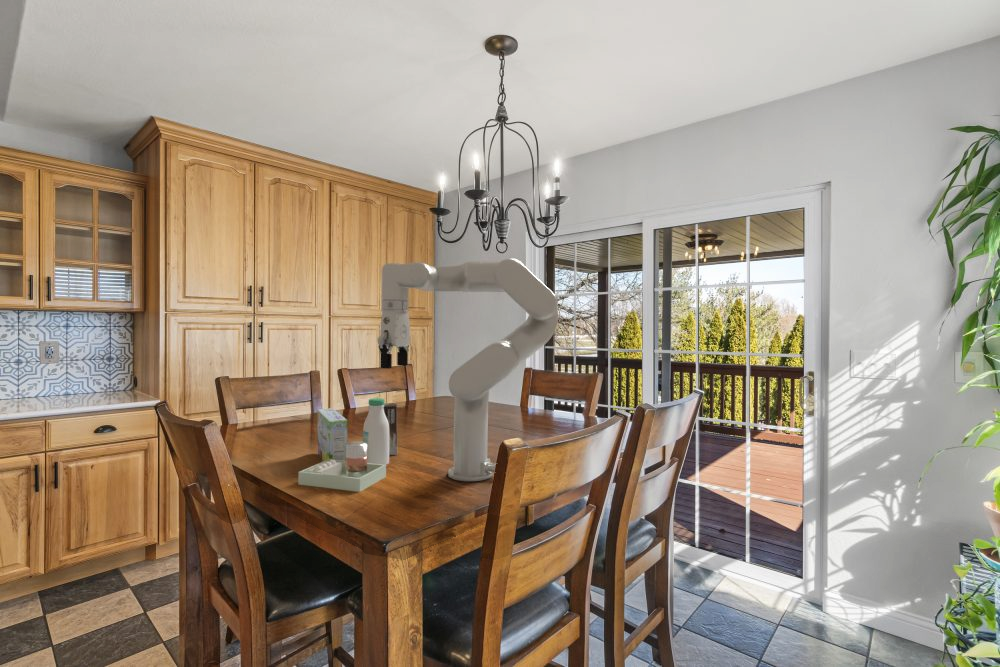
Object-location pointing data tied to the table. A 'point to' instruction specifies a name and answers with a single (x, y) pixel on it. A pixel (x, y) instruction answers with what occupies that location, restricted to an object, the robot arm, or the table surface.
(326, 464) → the egg carton
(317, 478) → the pale green tray
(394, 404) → the coffee box
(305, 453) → the table surface
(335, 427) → the snack box
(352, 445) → the tin can
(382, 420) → the milk bottle
